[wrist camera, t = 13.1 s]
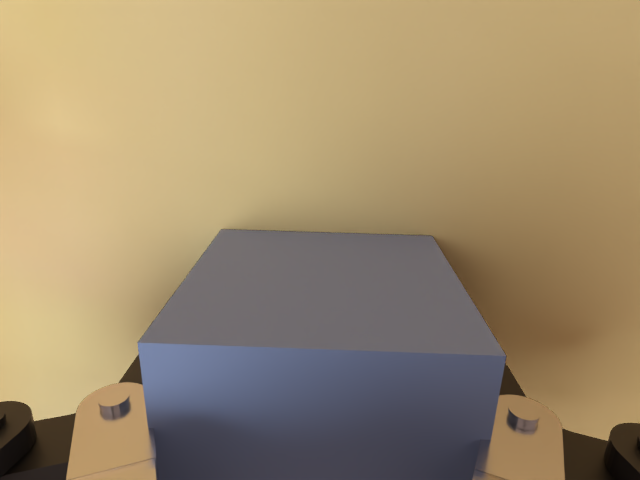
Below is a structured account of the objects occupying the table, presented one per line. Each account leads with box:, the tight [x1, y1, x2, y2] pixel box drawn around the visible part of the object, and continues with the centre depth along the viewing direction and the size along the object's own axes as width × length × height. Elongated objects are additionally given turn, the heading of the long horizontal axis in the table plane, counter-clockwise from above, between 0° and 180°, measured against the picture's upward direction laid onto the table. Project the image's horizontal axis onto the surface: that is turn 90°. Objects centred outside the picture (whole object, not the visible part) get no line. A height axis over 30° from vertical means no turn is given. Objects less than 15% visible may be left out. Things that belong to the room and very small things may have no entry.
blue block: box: [138, 229, 506, 480], centre depth 10 cm, size 6×6×6 cm
